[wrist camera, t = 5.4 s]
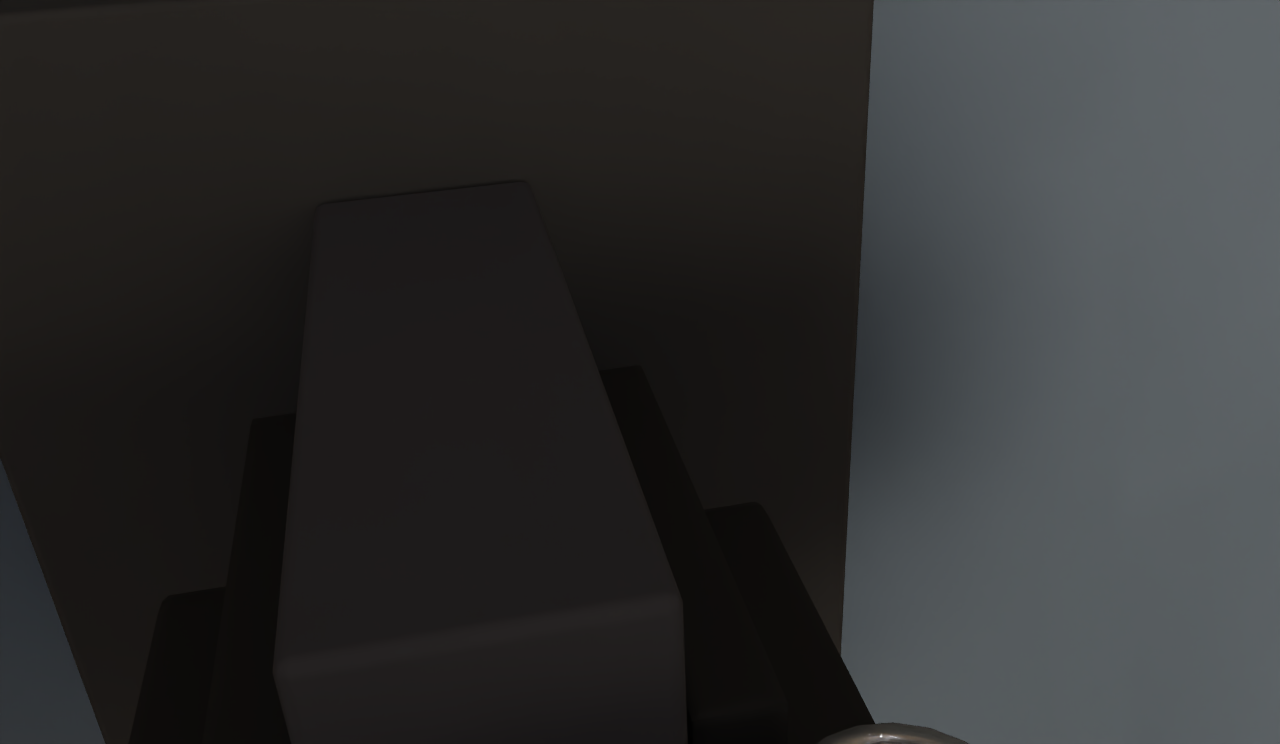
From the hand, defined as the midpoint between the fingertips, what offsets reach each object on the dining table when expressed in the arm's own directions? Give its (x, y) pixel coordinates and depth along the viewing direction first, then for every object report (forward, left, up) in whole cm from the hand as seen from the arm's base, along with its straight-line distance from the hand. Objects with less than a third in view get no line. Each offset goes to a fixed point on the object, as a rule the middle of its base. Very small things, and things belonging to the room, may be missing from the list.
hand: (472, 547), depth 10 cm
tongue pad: (0, +1, -2) cm, 2 cm away
